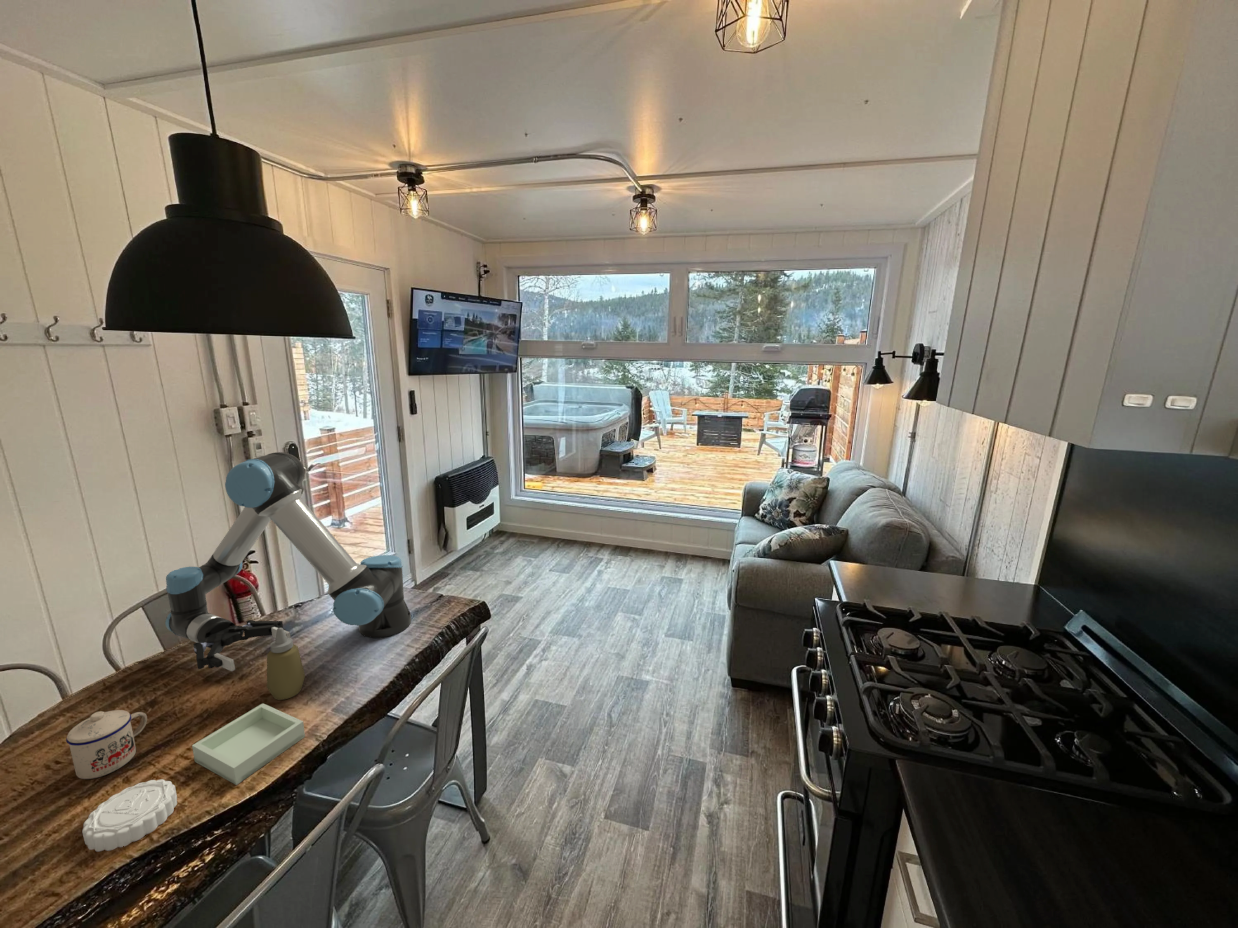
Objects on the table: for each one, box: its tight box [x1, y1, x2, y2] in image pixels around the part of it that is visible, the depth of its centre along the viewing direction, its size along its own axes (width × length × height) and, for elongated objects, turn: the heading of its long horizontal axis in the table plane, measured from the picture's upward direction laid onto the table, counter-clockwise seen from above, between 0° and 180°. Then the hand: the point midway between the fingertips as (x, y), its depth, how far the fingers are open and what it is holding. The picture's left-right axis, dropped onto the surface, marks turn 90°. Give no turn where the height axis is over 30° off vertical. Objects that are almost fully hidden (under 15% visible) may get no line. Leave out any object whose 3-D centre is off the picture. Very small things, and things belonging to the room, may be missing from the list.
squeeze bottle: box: [266, 627, 306, 701], centre depth 120 cm, size 8×8×18 cm
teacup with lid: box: [66, 709, 148, 780], centre depth 100 cm, size 12×9×12 cm
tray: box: [191, 703, 306, 786], centre depth 104 cm, size 14×14×4 cm
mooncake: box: [82, 778, 178, 852], centre depth 88 cm, size 12×12×4 cm
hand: (262, 650), depth 123 cm, fingers open, 13 cm apart
